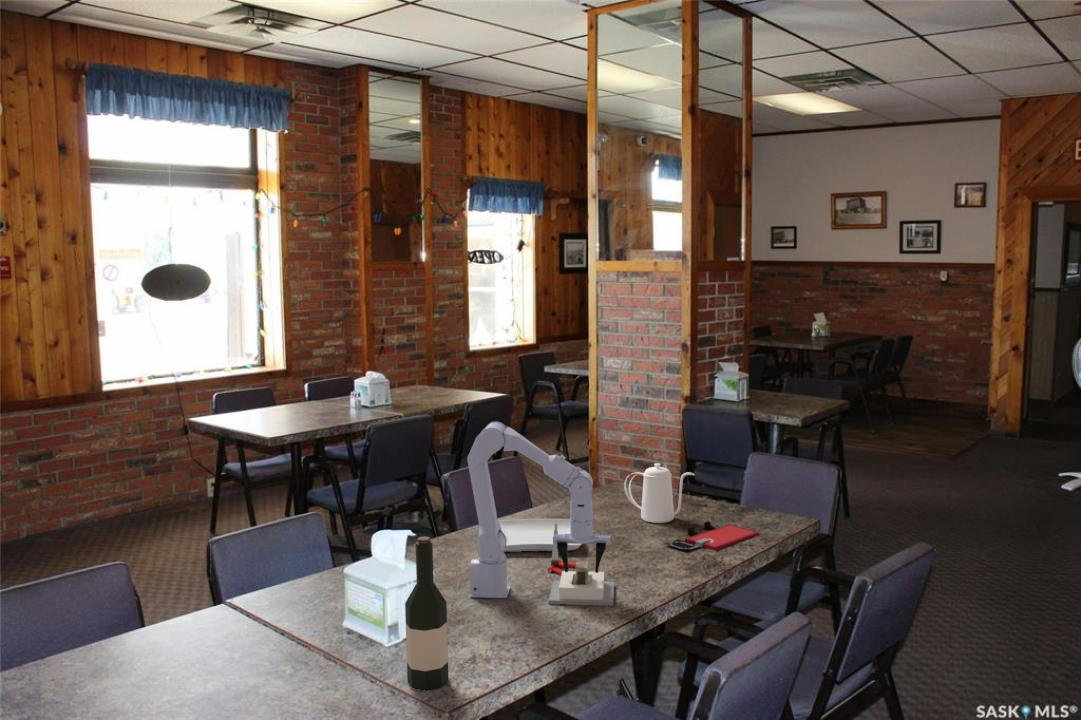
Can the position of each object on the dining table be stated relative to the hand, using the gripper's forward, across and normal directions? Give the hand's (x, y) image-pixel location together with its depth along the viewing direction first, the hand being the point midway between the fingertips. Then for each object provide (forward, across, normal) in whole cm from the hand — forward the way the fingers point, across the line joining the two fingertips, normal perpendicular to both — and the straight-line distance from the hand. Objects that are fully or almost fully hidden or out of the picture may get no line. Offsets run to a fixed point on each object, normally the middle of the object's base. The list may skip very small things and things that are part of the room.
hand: (581, 571), depth 228 cm
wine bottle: (+6, -29, -50) cm, 58 cm away
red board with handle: (+7, +37, +48) cm, 61 cm away
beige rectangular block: (+5, 0, 0) cm, 5 cm away
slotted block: (+6, 0, 0) cm, 6 cm away
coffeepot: (+6, +22, +69) cm, 73 cm away
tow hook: (+7, -5, +18) cm, 20 cm away
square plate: (+7, -16, +44) cm, 47 cm away
